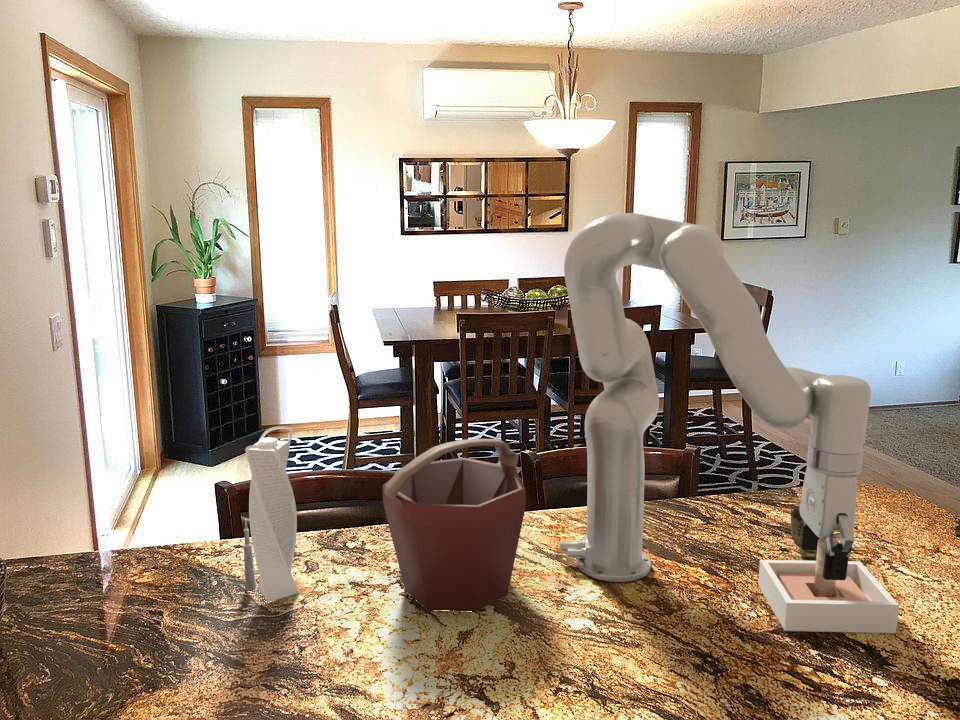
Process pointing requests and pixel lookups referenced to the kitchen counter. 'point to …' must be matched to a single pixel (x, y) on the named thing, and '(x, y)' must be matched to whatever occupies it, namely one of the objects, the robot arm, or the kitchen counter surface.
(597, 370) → the robot arm
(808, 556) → the cup
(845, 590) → the bored plate
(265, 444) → the skyscraper
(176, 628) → the kitchen counter surface
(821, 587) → the birch peg
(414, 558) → the bucket
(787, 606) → the open-top box
